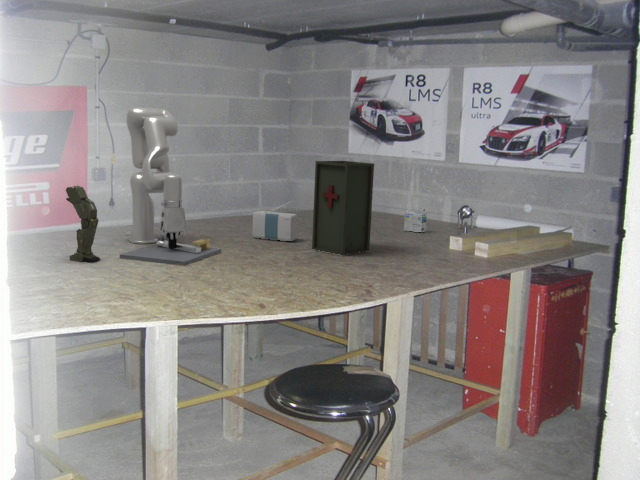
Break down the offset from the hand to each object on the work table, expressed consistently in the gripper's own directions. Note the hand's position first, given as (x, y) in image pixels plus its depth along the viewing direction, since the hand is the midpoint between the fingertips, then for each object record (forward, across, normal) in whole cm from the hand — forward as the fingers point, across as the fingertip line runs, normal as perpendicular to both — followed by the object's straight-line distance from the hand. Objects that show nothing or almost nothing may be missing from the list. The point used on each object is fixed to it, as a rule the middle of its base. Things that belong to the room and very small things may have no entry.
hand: (172, 248), depth 283 cm
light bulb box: (+3, +145, -23) cm, 147 cm away
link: (+1, +3, 0) cm, 3 cm away
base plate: (+3, -2, -2) cm, 4 cm away
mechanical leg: (+3, -35, +9) cm, 36 cm away
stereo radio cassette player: (+3, +61, +2) cm, 61 cm away
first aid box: (+3, +66, -37) cm, 75 cm away
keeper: (+1, +10, -6) cm, 12 cm away
